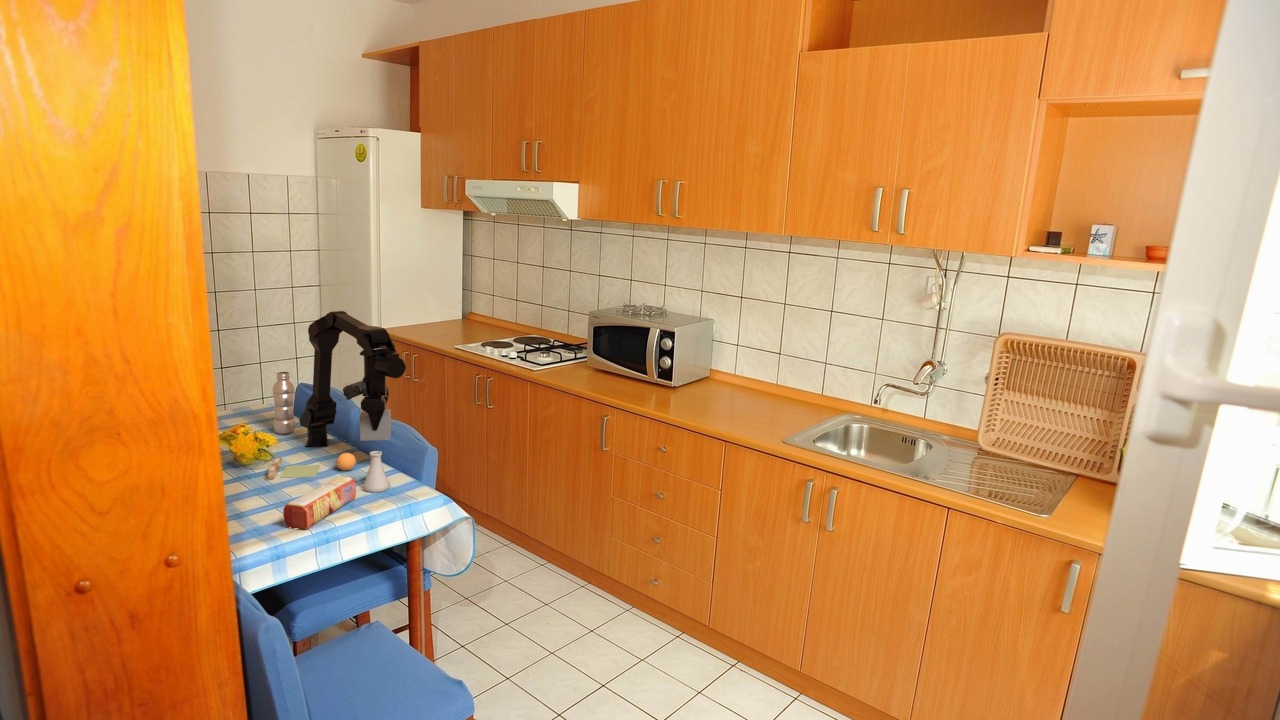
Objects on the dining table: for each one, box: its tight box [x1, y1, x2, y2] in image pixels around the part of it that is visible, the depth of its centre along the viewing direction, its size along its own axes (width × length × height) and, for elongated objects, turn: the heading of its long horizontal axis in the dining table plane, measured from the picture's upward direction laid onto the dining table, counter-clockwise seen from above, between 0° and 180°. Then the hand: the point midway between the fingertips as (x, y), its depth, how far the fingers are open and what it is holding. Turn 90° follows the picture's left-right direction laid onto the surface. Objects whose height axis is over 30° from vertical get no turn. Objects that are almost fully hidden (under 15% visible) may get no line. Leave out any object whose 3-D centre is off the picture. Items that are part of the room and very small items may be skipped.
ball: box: [336, 452, 357, 472], centre depth 208 cm, size 5×5×5 cm
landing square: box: [279, 464, 321, 479], centre depth 205 cm, size 9×9×1 cm
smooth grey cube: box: [359, 408, 392, 442], centre depth 209 cm, size 8×8×7 cm
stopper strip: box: [268, 456, 282, 481], centre depth 203 cm, size 12×1×2 cm, turn 16°
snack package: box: [282, 476, 357, 530], centre depth 179 cm, size 21×7×7 cm, turn 169°
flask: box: [361, 450, 391, 493], centre depth 196 cm, size 7×7×10 cm
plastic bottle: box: [271, 371, 297, 435], centre depth 236 cm, size 6×7×20 cm
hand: (376, 426), depth 209 cm, fingers closed on smooth grey cube, 8 cm apart
